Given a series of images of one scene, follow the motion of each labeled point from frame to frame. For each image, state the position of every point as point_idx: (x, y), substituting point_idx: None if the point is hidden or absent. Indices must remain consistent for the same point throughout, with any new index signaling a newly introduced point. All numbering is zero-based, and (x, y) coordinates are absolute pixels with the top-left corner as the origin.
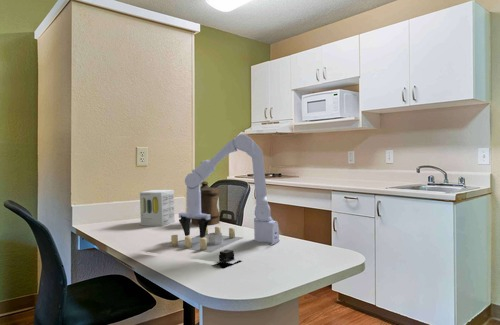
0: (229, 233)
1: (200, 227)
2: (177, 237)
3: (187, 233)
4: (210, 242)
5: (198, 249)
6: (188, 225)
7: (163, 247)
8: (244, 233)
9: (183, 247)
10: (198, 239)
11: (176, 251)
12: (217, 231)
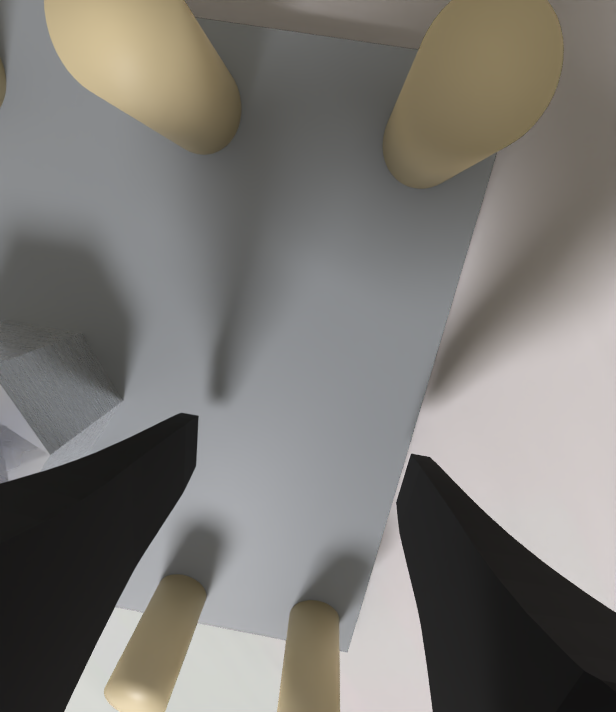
0: None
1: (76, 478)
2: (404, 106)
3: (410, 492)
4: (47, 334)
5: (21, 50)
6: (436, 627)
7: (594, 159)
8: (99, 699)
9: (263, 90)
10: (288, 473)
11: (327, 11)
12: (146, 627)
